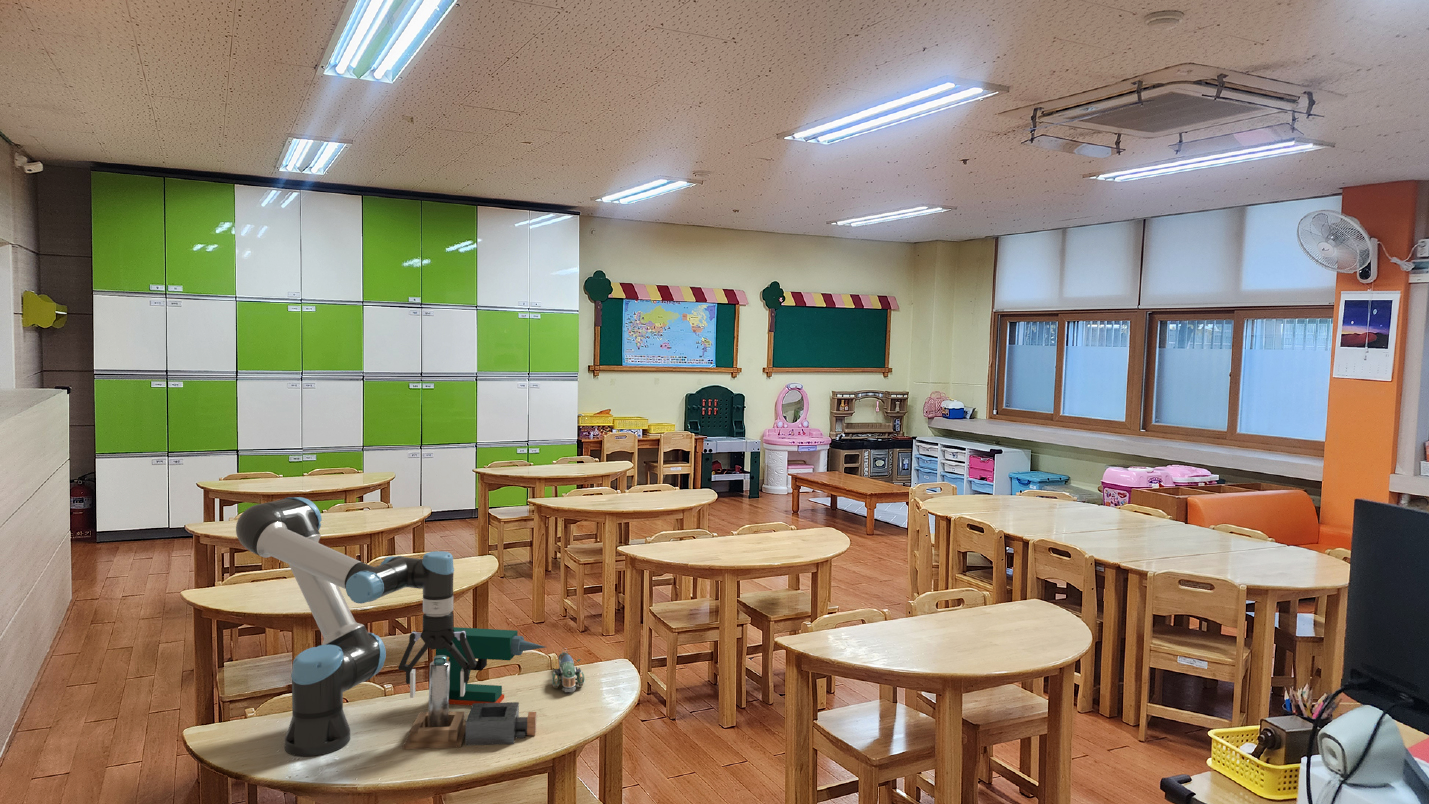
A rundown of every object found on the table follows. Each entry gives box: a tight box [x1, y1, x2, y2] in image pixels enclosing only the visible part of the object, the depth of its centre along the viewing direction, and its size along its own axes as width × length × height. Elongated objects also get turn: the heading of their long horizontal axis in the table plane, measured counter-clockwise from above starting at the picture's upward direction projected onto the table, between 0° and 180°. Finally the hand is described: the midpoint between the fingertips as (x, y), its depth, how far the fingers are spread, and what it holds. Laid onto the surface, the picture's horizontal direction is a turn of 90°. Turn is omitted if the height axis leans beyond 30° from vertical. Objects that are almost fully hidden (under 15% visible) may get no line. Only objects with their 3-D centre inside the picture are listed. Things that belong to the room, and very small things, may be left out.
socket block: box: [465, 701, 526, 746], centre depth 227 cm, size 14×12×6 cm
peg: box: [427, 655, 450, 727], centre depth 225 cm, size 5×5×20 cm
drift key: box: [516, 711, 537, 736], centre depth 228 cm, size 8×4×5 cm, turn 97°
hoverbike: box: [551, 647, 586, 695], centre depth 267 cm, size 10×25×8 cm, turn 14°
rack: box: [402, 710, 467, 750], centre depth 226 cm, size 14×14×4 cm
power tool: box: [435, 626, 546, 706], centre depth 248 cm, size 32×7×20 cm, turn 84°
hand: (437, 695), depth 225 cm, fingers open, 12 cm apart
